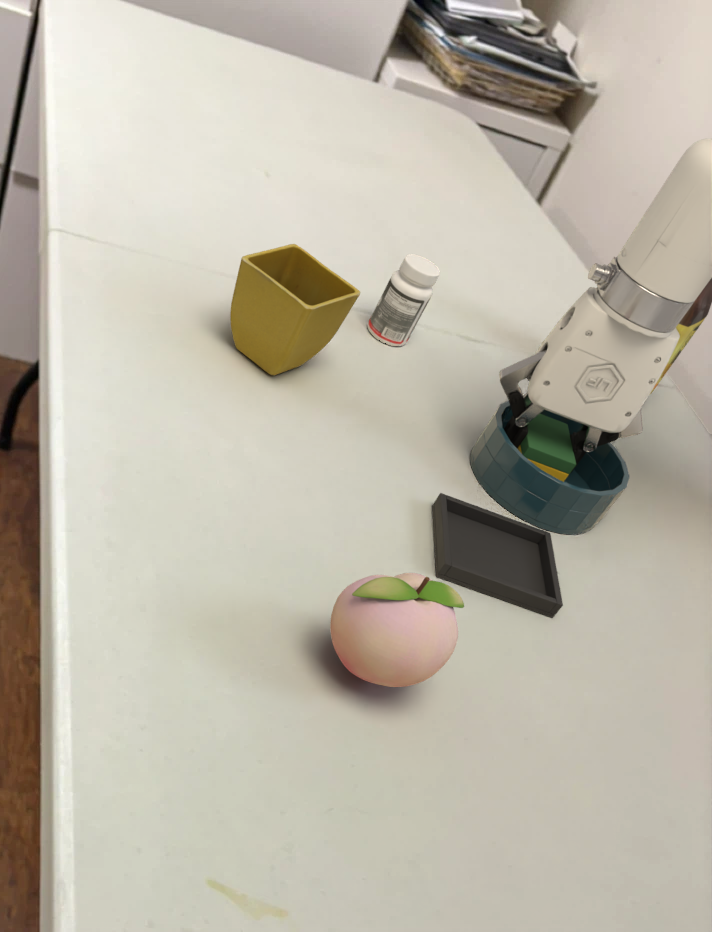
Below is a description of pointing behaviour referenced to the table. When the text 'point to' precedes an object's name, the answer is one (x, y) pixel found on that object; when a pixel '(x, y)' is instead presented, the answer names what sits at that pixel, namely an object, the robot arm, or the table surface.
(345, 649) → the decorative fruit
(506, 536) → the sponge tray
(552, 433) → the sponge
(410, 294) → the pill bottle
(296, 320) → the flower pot
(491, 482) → the bowl
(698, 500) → the table surface
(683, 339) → the sauce bottle
